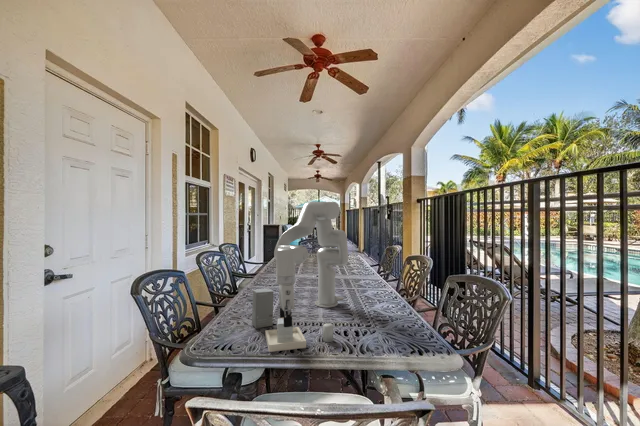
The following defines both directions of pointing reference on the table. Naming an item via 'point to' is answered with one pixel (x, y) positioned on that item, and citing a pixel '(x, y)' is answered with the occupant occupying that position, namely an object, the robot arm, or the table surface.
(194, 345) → the table surface
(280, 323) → the skincare box
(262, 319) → the skincare box
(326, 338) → the grey dowel
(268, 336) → the tray
